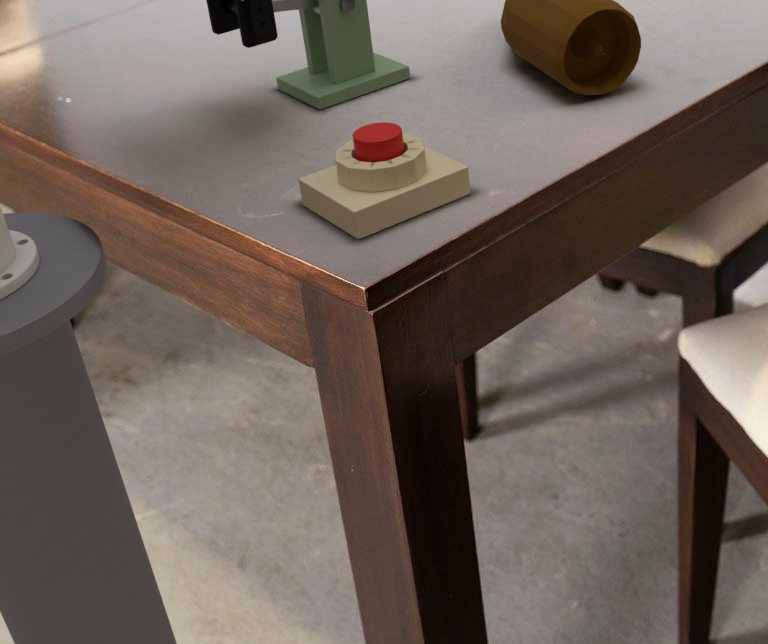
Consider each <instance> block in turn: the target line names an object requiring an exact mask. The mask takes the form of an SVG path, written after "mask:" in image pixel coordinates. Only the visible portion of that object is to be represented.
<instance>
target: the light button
mask: <svg viewBox="0 0 768 644" xmlns="http://www.w3.org/2000/svg"><path fill="white" fill-rule="evenodd" d="M402 133H403V129H402V127H401V126H400V124H397V123H394V122H387V121H386V122H385V121H384V122H383V121H382V122H373V123H369V124H365V125H362V126H360V127H358V128H357V129H355V130H354V131H353V133H352V140H353V142H354V149H355V156H356V159H357V160H358V161H362V162H373V163H374V162H382V161H388V160H391V159H394V158H396V157H399V156H402V155H403V153H404V143H403V135H402Z"/></svg>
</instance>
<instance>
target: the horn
mask: <svg viewBox="0 0 768 644" xmlns="http://www.w3.org/2000/svg"><path fill="white" fill-rule="evenodd" d="M500 27H501V32H502V35H503V37H504V40H505V42H506V44H507V45H508V46H509V47H510V48H511V50H512V51H513V53H515V54H516V55H518V56H519V57H520V58H522V59H523V60H524V61H526V62H527V63H529V64H530V65H532V66H533V67H535V68H537V69H538V70H539V71H541V72H542V73H544V74H545V75H546V76H548V77H550V78H551V79H553V80H554V81H556V82H557V83H559V84H560V85H562V86H563V87H564V88H566V89H568V90H569V91H571V92H572V93H573V94H576V95H579V96H600V95H605V94H608V93H610V92H612V91H613V90H615V89H617V88H618V87H620V86H622V85H623V84H624V83H625V82H626V81H627V79H628V78H629V77H630V75H631V74H632V72H633V71H634V70H635V68H636V66H637V64H638V62H639V58H640V54H641V50H642V38H641V34H640V30H639V26H638V23H637V21H636V19H635V16H634V15H633V14H632V13H631V12H629V11H628V10H627V9H626V8H624V6H622V5H621V4H620V3H619V2H617V1H615V0H504V3H503V9H502V14H501V17H500Z"/></svg>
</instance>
